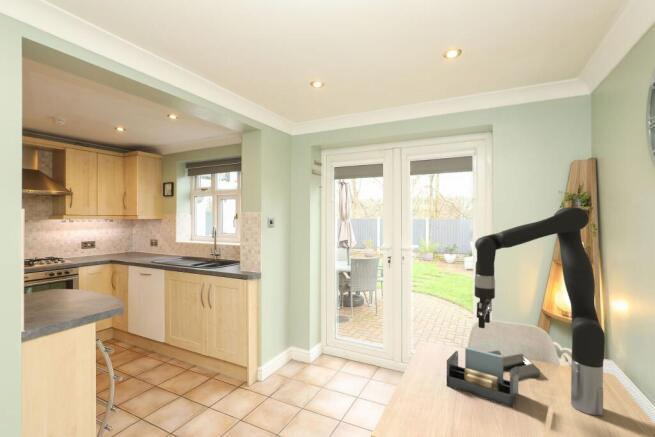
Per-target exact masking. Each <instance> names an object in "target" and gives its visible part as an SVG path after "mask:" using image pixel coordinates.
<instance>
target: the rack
mask: <svg viewBox="0 0 655 437" xmlns="http://www.w3.org/2000/svg"><path fill="white" fill-rule="evenodd" d="M446 386H447V387H449V388H453V389H455V390H458V391H461V392H464V393H468V394H469V395H473V396H475V397H476V396H477V397H479V398H483V399H486V400H488V401H492V402H494V403H497V404H500V405H503V406H506V407H510V408H512V409H513V408H514V406H515V403H516V401H517V398H518V395H519V380H518V367H515V369H514V371H513V373H512V375H511V377H510V376H509V380H507V379H504V378H503V384H501V383H498V391H496V390H493V389H490V388H487V387H483V386H480V385H477V384H474V383H470V382H467V381H465V367H462V366H459V351H458V350H455V351H454V352H453V353H452V354H451V356H449V357H448V358H447V359H446Z"/></svg>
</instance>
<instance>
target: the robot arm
mask: <svg viewBox="0 0 655 437" xmlns="http://www.w3.org/2000/svg"><path fill="white" fill-rule="evenodd" d="M589 220H590V216H589V214H588V212H587V211H586V210H584V209H583V208H581V207H577V206H570V207H569V206H567V207H563V208H560V209H558V210H557V211H555V213H554V215H552V216H550V217H547V218H544V219H542V220H538V221H534V222H530V223H526V224H522V225H518V226H515V227H511V228H508V229H505V230H502V231H499V232H496V233H492V234H487V235H484V236H481V237H479V238H478V239H476V240H475V243H474V247H475V249H476V262H475V272H474V273H475V275H474V276H475V277H474V296H475V297H476V298H478V299H479V301H478V302H477V303H476V318H477V319H478V328H480V329H485V328H486V323H487V324H489V323H490V322H491V312H492V310H493V309H492V307H493V306H492V301H493V300H494V299H495V297H496V278H495V259H496V253H497V251H498V250H500V249H504V248H505V249H508V248H513V247H516V246H519V245H523V244H527V243H529V242H532V241H535V240H537V239H541V238H544V237H549V236H552V235H556V234H557V239H558V242H559V247H560V248H559V250H560V252H559V253H560V259H561V266H562V268H561V269H562V275H563V281H564V285H565V289H566V293H567V296H568V299H569V302H570V313H571V326H570V327H571V335H572V336H571V360H570V361H571V367H570V368H571V370H570V371H571V372H570V373H571V374H570V375H571V377H570V380H571V381H570V383H571V385H570V389H571V390H570V405H571V407H573V408H575V409H576V410H577V411H579V412H581V413H584V414H587V415H590V416H591V415H592V416H600V417H604V360H605V347H606V345H605V344H606V343H605V342H606V340H605V339H606V337H605V332H604V330H603V328H602V325H601V323H600V321H599V318H598V313H597V310H596V305H595V297H596V296H595V295H596V283H595V282H596V281H595V275H594V269H593V265H592V261H591V260H590V257H589V255H588V253H587V251H586V249H585V247H584V245H583V240H582V233H581V230H583V229H584V228H585V227H586V226H587V225H588V224H589Z"/></svg>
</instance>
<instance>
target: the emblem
mask: <svg viewBox="0 0 655 437" xmlns="http://www.w3.org/2000/svg"><path fill="white" fill-rule="evenodd" d="M488 352H489V353H493V354H497V355H501V356H502V353H501V351H500V350H493V351H488ZM515 367H518V381H519V380H523V379H525V378H529V379H535V378H538V377H540V376H541V370H540V368H538V366H536V365H535V364H534V363H533V362H532V361H531V360H530V359H529V358H528V357H527V356H525V355H524V354H523V353H517V354H511V355H505V356H504V362H503V372H507V373H509V378H510V377H511V375H512V373H513V371H514V369H515Z"/></svg>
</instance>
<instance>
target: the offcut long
mask: <svg viewBox="0 0 655 437" xmlns="http://www.w3.org/2000/svg"><path fill="white" fill-rule="evenodd" d="M468 374H471V375H474V376H477V377H481V378H484V379H488V380H491V381H493V386H492V389H493V390H496V391H498V377H496V376H492V375H489V374H485V373H482V372H478V371H475V370H471V369H468V368H466V369H465V381H467V375H468Z"/></svg>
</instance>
